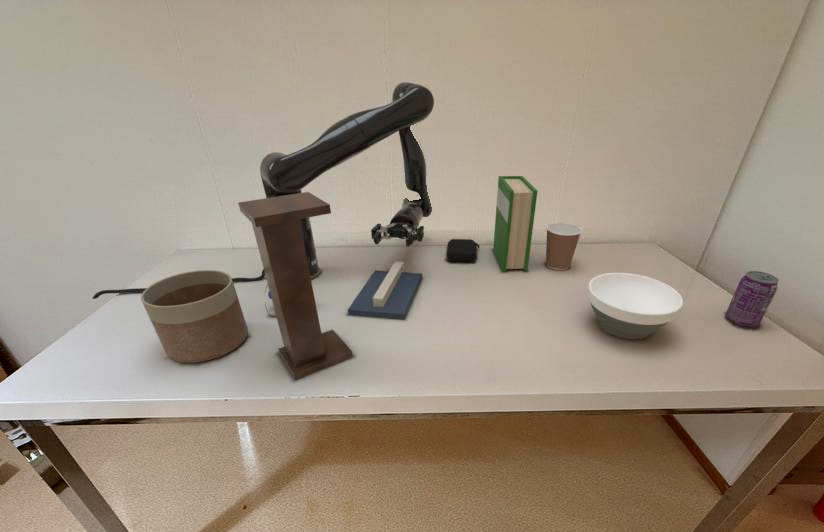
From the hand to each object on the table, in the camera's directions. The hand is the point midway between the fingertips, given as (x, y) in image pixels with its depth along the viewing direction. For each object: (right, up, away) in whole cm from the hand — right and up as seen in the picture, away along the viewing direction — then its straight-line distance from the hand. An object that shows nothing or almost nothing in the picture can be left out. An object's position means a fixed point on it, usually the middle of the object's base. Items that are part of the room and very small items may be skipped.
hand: (391, 242), depth 103 cm
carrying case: (+20, 0, +25) cm, 32 cm away
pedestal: (-13, -28, -21) cm, 37 cm away
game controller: (-24, -18, -5) cm, 31 cm away
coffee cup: (+49, -4, +18) cm, 53 cm away
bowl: (+56, -22, -11) cm, 62 cm away
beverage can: (+86, -21, -8) cm, 89 cm away
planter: (-37, -25, -18) cm, 48 cm away
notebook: (-1, -14, +1) cm, 14 cm away
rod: (-1, -12, +2) cm, 12 cm away
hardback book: (+35, -2, +21) cm, 41 cm away
